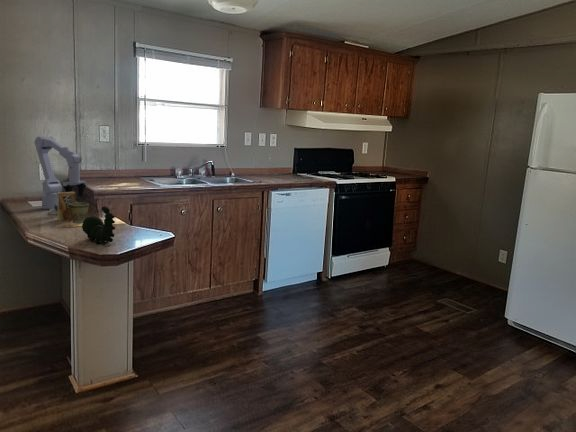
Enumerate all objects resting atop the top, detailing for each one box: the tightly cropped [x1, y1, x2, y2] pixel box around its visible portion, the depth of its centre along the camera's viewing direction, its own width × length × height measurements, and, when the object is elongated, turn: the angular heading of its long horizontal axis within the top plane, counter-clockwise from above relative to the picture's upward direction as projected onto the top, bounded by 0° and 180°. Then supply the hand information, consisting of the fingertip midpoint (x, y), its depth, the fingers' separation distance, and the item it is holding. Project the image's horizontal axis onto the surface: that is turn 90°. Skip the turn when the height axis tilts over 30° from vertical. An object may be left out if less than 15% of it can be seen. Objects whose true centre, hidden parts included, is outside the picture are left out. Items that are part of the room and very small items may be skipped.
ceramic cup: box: [69, 201, 90, 224], centre depth 256 cm, size 13×10×10 cm
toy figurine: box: [81, 206, 116, 244], centre depth 217 cm, size 9×19×25 cm
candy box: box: [57, 191, 77, 222], centre depth 258 cm, size 9×4×15 cm, turn 129°
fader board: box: [49, 209, 58, 216], centre depth 278 cm, size 20×8×2 cm, turn 117°
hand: (75, 196), depth 279 cm, fingers open, 7 cm apart
